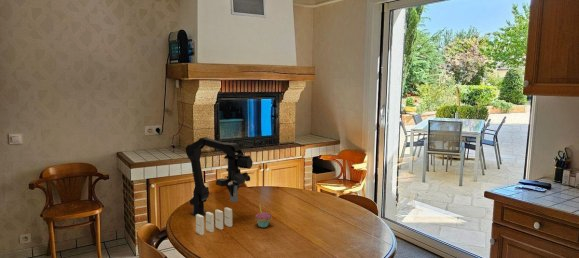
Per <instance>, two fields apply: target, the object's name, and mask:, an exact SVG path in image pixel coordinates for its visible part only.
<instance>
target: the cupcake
mask: <svg viewBox="0 0 579 258" xmlns="http://www.w3.org/2000/svg"><path fill="white" fill-rule="evenodd" d="M258 205H259V210H260V212H258V213H257V214H256V215H254V220H255V221H256V222H257V225H258V227H259V228H268V227H269V224H270V221H272V219H273V217H272V214H270V213H269V212H267V211H262V205H261V204H258Z"/></svg>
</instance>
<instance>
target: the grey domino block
mask: <svg viewBox="0 0 579 258" xmlns="http://www.w3.org/2000/svg"><path fill="white" fill-rule="evenodd" d="M238 192H239V189H238V190H237V185H234V186H233V196H231V194H230V193H229V202H233V203H238V200H239V199H238V198H239V197H238V196H239V195H238V194H239V193H238Z"/></svg>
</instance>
